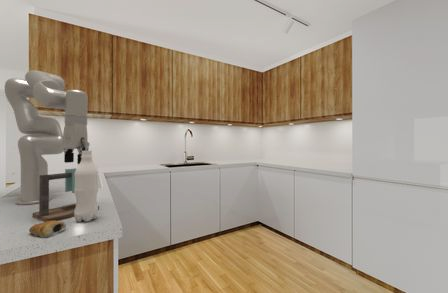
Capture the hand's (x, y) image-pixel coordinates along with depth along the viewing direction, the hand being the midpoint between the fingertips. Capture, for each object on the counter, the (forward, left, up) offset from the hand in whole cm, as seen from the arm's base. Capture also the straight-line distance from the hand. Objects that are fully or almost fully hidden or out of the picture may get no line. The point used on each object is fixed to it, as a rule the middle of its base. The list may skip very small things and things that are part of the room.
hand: (75, 163), depth 85 cm
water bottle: (+15, -3, -20) cm, 25 cm away
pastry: (+16, -15, -20) cm, 30 cm away
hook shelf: (+1, -3, -20) cm, 20 cm away
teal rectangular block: (+1, 0, -11) cm, 11 cm away
